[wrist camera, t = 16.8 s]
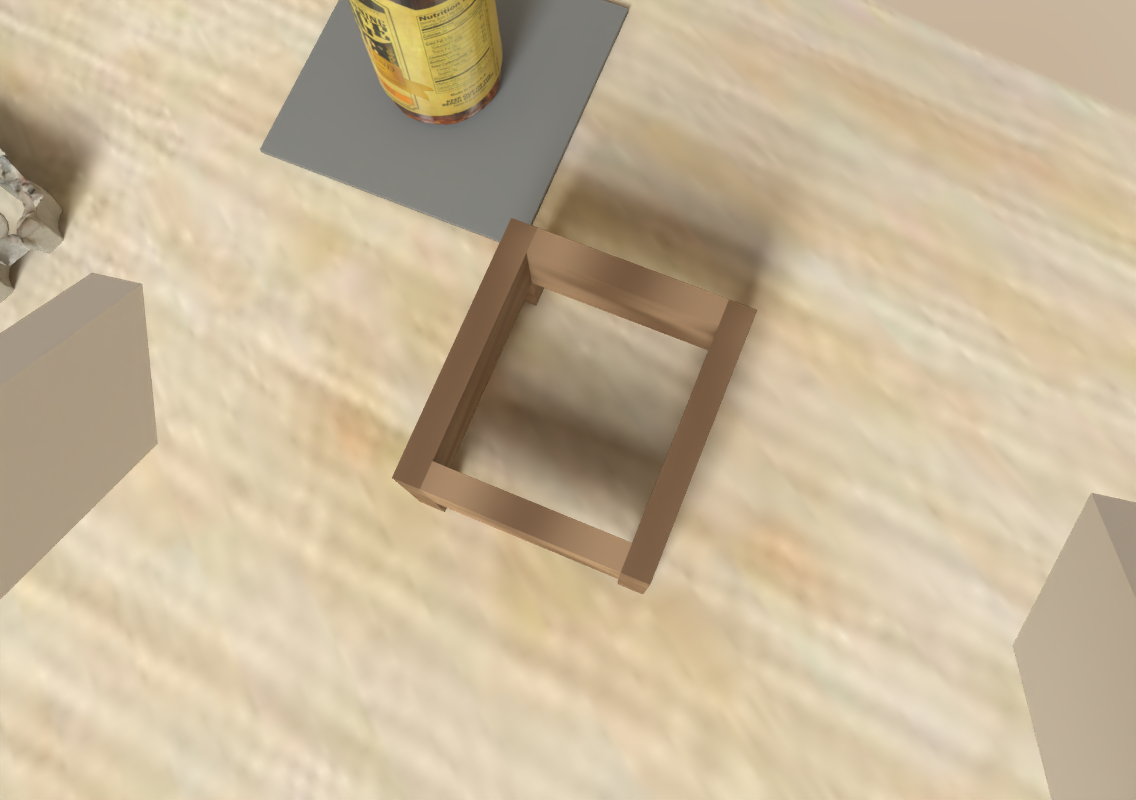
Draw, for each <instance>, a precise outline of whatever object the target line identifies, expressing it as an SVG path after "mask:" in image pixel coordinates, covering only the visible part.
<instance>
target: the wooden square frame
mask: <svg viewBox="0 0 1136 800" xmlns="http://www.w3.org/2000/svg"><path fill="white" fill-rule="evenodd" d="M544 288H547V289H549V290H552V291H554V292H557V293H560V294H562V295H565V296H567V297H570V298H573V299H575V300H578V301H581V302H583V303H586V304H588V305H591V306H594V307H596V308H599V309H601V310H604V311H607V312H609V313H612V314H615V315H617V316H620V317H622V318H625V319H628V320H630V321H633V322H636V323H638V324H641V325H643V326H646V327H649V328H651V329H654V330H656V331H659V332H662V333H664V334H667V335H670V336H672V337H675V338H677V339H680V340H683V341H685V342H688V343H690V344H693V345H696V346H698V347H701V348H704V349H706V350H709V351H708V354H707V356H706V359H705V361H704V364H703V366H702V369H701V371H700V374H699V376H698V379H697V381H696V384H695V386H694V389H693V391H692V394H691V396H690V399H689V401H688V404H687V406H686V409H685V411H684V414H683V416H682V419H681V421H680V424H679V426H678V429H677V432H676V434H675V437H674V439H673V442H672V444H671V447H670V449H669V452H668V454H667V457H666V459H665V462H664V464H663V467H662V469H661V472H660V474H659V477H658V479H657V482H656V484H655V487H654V489H653V492H652V494H651V497H650V499H649V502H648V504H647V507H646V509H645V512H644V515H643V517H642V520H641V522H640V525H639V527H638V530H637V532H636V535H635V537H634V540H633V542H632V543H631V542H628V541H626V540H624V539H621V538H619V537H616V536H614V535H611V534H609V533H606V532H604V531H602V530H599V529H597V528H594V527H592V526H589V525H587V524H585V523H582V522H580V521H577V520H575V519H572V518H570V517H567V516H565V515H563V514H560V513H558V512H555V511H553V510H550V509H548V508H546V507H543V506H541V505H538V504H536V503H533V502H531V501H528V500H526V499H524V498H521V497H519V496H516V495H514V494H511V493H509V492H507V491H504V490H502V489H499V488H497V487H494V486H492V485H489V484H487V483H485V482H482V481H480V480H477V479H475V478H472V477H470V476H467V475H465V474H463V473H460V472H458V471H455V470H453V469H450V465H451V463H452V461H453V459H454V456H455V454H456V452H457V450H458V448H459V445H460V443H461V441H462V439H463V436H464V434H465V432H466V430H467V427H468V425H469V423H470V421H471V418H472V416H473V414H474V412H475V409H476V407H477V405H478V403H479V400H480V398H481V396H482V394H483V392H484V389H485V387H486V385H487V383H488V380H489V378H490V376H491V374H492V371H493V369H494V367H495V365H496V362H497V360H498V358H499V356H500V353H501V351H502V349H503V347H504V344H505V342H506V340H507V338H508V336H509V333H510V331H511V329H512V327H513V324H514V322H515V320H516V318H517V315H518V313H519V311H520V309H521V306H522V304H523V302H524V301H526V302H529V303H531V304H534V305H536V304H537V302H538V300H539V298H540V295H541V293H542V291H543V289H544ZM756 311H757V310H756V309H754V308H751V307H748V306H746V305H743V304H740V303H738V302H735V301H732V300H730V299H727V298H724V297H722V296H719V295H716V294H714V293H711V292H708V291H706V290H703V289H700V288H698V287H695V286H692V285H690V284H687V283H684V282H682V281H679V280H676V279H674V278H671V277H668V276H666V275H663V274H660V273H658V272H655V271H652V270H650V269H647V268H644V267H642V266H639V265H636V264H634V263H631V262H628V261H626V260H623V259H620V258H618V257H615V256H612V255H610V254H607V253H604V252H602V251H599V250H596V249H594V248H591V247H588V246H586V245H583V244H580V243H578V242H575V241H572V240H569V239H567V238H564V237H561V236H559V235H556V234H553V233H551V232H548V231H545V230H543V229H540V228H537V227H535V226H532V225H529V224H527V223H524V222H521V221H519V220H516V219H513V218H511V219H510V222H509V224H508V226H507V228H506V230H505V232H504V235H503V237H502V239H501V241H500V243H499V246H498V248H497V250H496V252H495V254H494V256H493V259H492V261H491V263H490V265H489V267H488V270H487V272H486V274H485V276H484V278H483V280H482V283H481V285H480V287H479V289H478V291H477V293H476V296H475V298H474V300H473V302H472V304H471V307H470V309H469V311H468V313H467V315H466V317H465V320H464V322H463V324H462V326H461V328H460V331H459V333H458V335H457V337H456V339H455V341H454V344H453V346H452V348H451V350H450V352H449V355H448V357H447V359H446V361H445V363H444V365H443V368H442V370H441V372H440V374H439V376H438V379H437V381H436V383H435V385H434V387H433V389H432V392H431V394H430V396H429V398H428V400H427V402H426V405H425V407H424V409H423V411H422V413H421V416H420V418H419V420H418V422H417V424H416V426H415V429H414V431H413V433H412V435H411V437H410V440H409V442H408V444H407V446H406V448H405V450H404V453H403V455H402V457H401V459H400V461H399V464H398V466H397V468H396V470H395V472H394V474H393V477H392V478H393V479H394V480H395V481H396V482H398V483H399V484H400V485H401V486H402V487H404V488H405V489H406V490H407V491H408V492H410V493H411V494H412V495H413V496H414V497H415V498H417V499H418V500H419V501H420V502H422V503H425V504H427V505H430V506H432V507H434V508H437V509H439V510H442V511H444V512H445V510H446V507H447V508H449V509H452V510H454V511H456V512H459V513H461V514H464V515H466V516H468V517H471V518H473V519H476V520H478V521H481V522H483V523H485V524H488V525H490V526H493V527H495V528H497V529H500V530H502V531H505V532H507V533H509V534H512V535H514V536H517V537H519V538H521V539H524V540H526V541H529V542H531V543H533V544H536V545H538V546H541V547H543V548H546V549H548V550H550V551H553V552H555V553H558V554H560V555H562V556H565V557H567V558H570V559H572V560H574V561H577V562H579V563H582V564H584V565H586V566H589V567H591V568H594V569H596V570H598V571H601V572H603V573H606V574H608V575H610V576H613V577H615V578H618V579H619V580H618V584H619V585H622V586H624V587H627V588H629V589H631V590H634V591H636V592H639V593H641V594H643V593H644V592H645V591H646V589H647V588H648V587H649V585H650V583H651V581H652V578H653V576H654V573H655V571H656V568H657V565H658V563H659V560H660V558H661V555H662V553H663V550H664V547H665V545H666V542H667V540H668V537H669V535H670V532H671V530H672V527H673V524H674V522H675V519H676V517H677V514H678V512H679V509H680V506H681V504H682V501H683V499H684V496H685V494H686V491H687V488H688V486H689V483H690V481H691V478H692V476H693V473H694V471H695V468H696V465H697V463H698V460H699V458H700V455H701V453H702V450H703V447H704V445H705V442H706V440H707V437H708V435H709V432H710V429H711V427H712V424H713V422H714V419H715V417H716V414H717V412H718V409H719V406H720V404H721V401H722V399H723V396H724V394H725V391H726V388H727V386H728V383H729V381H730V378H731V376H732V373H733V370H734V368H735V365H736V363H737V360H738V358H739V355H740V353H741V350H742V347H743V345H744V342H745V340H746V337H747V335H748V332H749V329H750V327H751V324H752V322H753V319H754V317H755V314H756Z"/></svg>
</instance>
